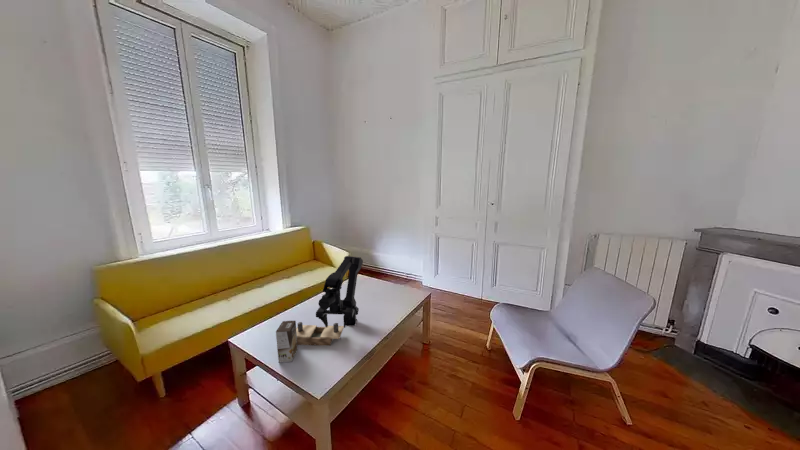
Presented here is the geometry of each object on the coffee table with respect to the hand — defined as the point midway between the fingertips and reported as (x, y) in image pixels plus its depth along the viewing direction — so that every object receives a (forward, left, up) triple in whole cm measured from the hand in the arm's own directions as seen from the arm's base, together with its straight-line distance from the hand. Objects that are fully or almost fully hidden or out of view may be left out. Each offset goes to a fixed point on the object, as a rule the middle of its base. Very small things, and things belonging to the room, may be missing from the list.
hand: (335, 327), depth 138 cm
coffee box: (+20, +13, -8) cm, 25 cm away
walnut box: (+12, 0, -7) cm, 14 cm away
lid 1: (+17, 0, -3) cm, 17 cm away
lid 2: (+2, 0, -3) cm, 4 cm away
